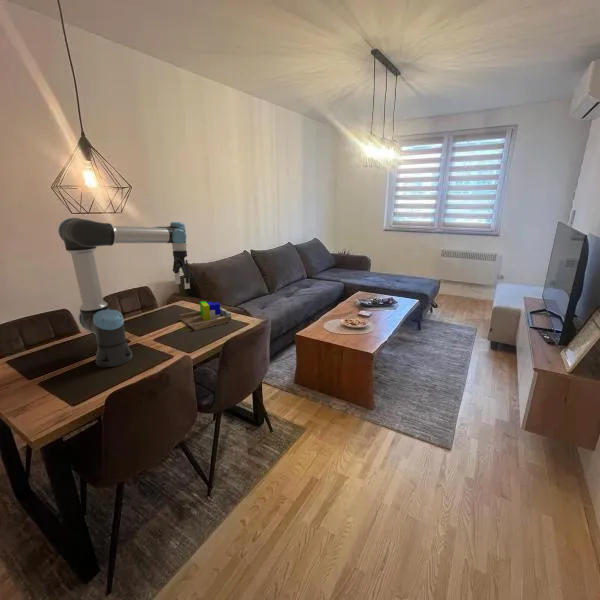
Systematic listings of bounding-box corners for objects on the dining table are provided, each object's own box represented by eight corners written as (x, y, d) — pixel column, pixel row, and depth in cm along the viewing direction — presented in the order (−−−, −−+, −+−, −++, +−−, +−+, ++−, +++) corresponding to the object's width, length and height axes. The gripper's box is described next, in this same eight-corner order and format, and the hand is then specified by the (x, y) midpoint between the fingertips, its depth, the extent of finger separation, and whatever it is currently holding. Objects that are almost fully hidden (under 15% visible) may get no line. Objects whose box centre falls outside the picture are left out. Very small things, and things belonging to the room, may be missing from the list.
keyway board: (231, 321, 207) (230, 312, 205) (195, 330, 192) (194, 320, 190) (214, 312, 223) (214, 303, 221) (180, 320, 207) (179, 310, 206)
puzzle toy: (220, 319, 208) (219, 304, 205) (204, 321, 203) (203, 306, 200) (216, 314, 216) (215, 299, 213) (200, 316, 211) (199, 301, 208)
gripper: (195, 252, 179) (197, 289, 185) (177, 246, 197) (180, 281, 203) (182, 253, 174) (185, 291, 180) (164, 247, 192) (168, 282, 198)
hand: (182, 286), depth 192 cm, fingers open, 13 cm apart
